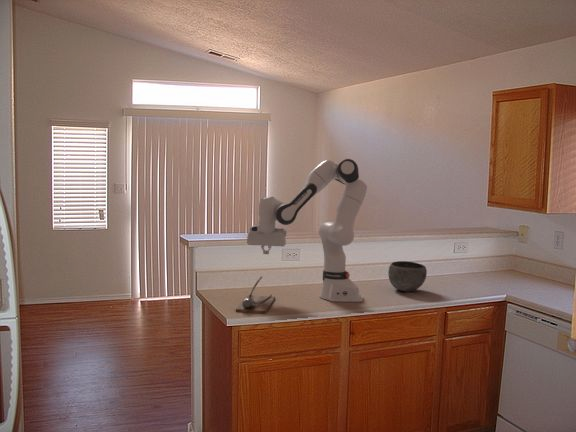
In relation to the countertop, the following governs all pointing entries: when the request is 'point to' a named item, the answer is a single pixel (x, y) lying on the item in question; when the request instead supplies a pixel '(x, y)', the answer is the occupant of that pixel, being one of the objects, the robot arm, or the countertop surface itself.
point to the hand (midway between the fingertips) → (266, 254)
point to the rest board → (257, 305)
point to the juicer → (249, 300)
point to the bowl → (407, 275)
